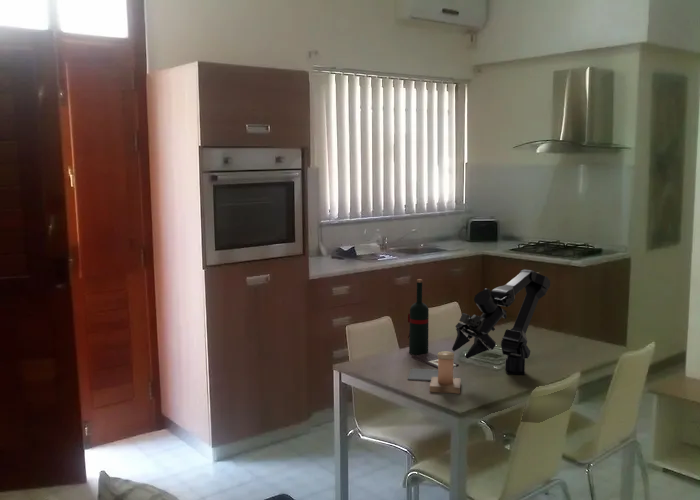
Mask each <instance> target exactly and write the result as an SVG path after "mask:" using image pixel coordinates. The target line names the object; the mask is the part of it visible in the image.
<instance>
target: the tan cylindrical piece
mask: <svg viewBox="0 0 700 500" xmlns="http://www.w3.org/2000/svg"><path fill="white" fill-rule="evenodd" d="M437 356H438V368H437V370H438V383H440V384H444V385H449V384H453V378H454V363H455V362H454V361H455V360H454V359H455V353H454V352H452V351H439V352H438V353H437Z"/></svg>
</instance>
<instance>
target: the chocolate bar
mask: <svg viewBox="0 0 700 500" xmlns="http://www.w3.org/2000/svg"><path fill="white" fill-rule="evenodd" d="M411 358H412V359H415V360H417V361H419V362H422V363H424V364H426V365H429V366H431V367H433V368H436V369H438V354H434V353H432V352H428V353H426V354H420V355H411ZM458 366H459V363H456V362H454V367H458ZM454 367H453V368H454Z"/></svg>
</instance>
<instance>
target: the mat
mask: <svg viewBox="0 0 700 500" xmlns="http://www.w3.org/2000/svg"><path fill="white" fill-rule="evenodd" d="M432 377H438V369H430V368H429V369H428V368H410V371H409V374H408V376H407V380H408V381H422V382H431V378H432Z"/></svg>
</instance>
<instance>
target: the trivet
mask: <svg viewBox="0 0 700 500" xmlns="http://www.w3.org/2000/svg"><path fill="white" fill-rule="evenodd" d="M461 383H462V381H461V377H459V378H458V377H453V384H449V385H444V384H440V383H438V377H432V378H431V381H430V383H429V392H430V393H444V394H461V386H462V385H461Z"/></svg>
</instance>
